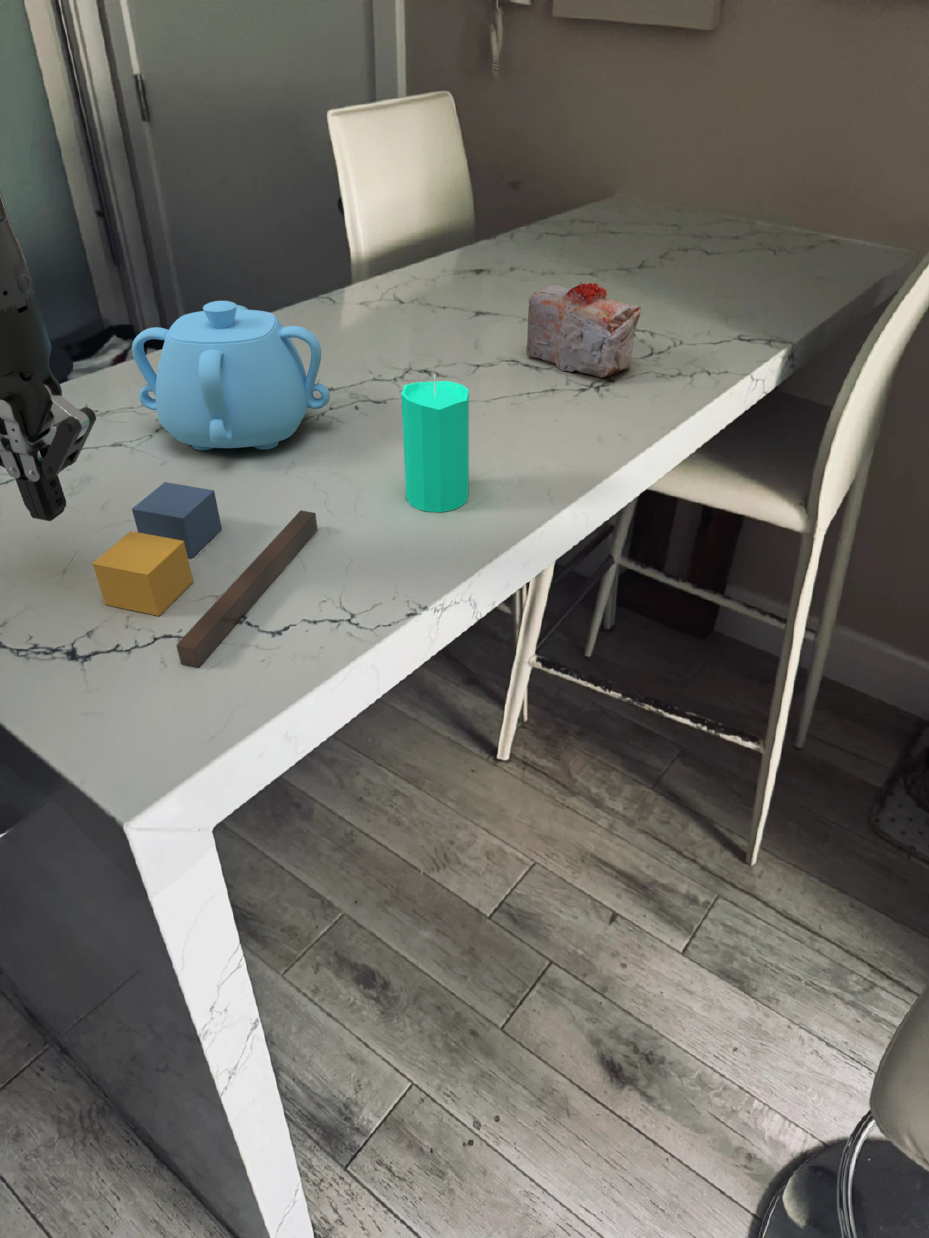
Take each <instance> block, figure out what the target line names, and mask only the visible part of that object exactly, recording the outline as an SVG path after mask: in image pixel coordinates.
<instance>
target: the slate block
mask: <svg viewBox="0 0 929 1238" xmlns="http://www.w3.org/2000/svg"><path fill="white" fill-rule="evenodd" d="M131 511H132V516H133V520H134V522H135V526H136V532H139V533H144V534H149V535H155V536H160V537H165V538H171V539H176V540H182V541H184V544H185V548H186V552H187V557H188V558H191V559H193V558H194V557H195V556H196V555H197V554H198V553H199V552H200V551H201V550H202V549H203V548H204V547H205V546H206V545H207V544H208V543H209V542H210V541H211V540H212V539H214V537H216V536H217V534H218V533H220V532H221V531H222V529H223V527H222V524H221V517H220V513H219V507H218V502H217V498H216V493H215V490H214V489H210V488H209V489H208V488H203V487H196V486H191V485H185V484H179V483H173V482H168V481H164V482H163V483H162V484H161V485H159V486H158V487H157V488H156V489H154V490H153V491H152V492H150V493H149V494H148V495H147V496H146V497H144V498H143V499H142V500H141V501H139V502H138V503H137V504H135V506H133V507H132V508H131Z"/></svg>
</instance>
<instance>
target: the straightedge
mask: <svg viewBox="0 0 929 1238" xmlns="http://www.w3.org/2000/svg"><path fill="white" fill-rule="evenodd" d="M317 531H318V522H317V513H316V512H313V511H307V510H303V509H302V510H299V511H298V512H297V513H296V514H295V516H294V517H293V518H292V519H291V520H290V521H289V522H288V523H287V524H286V525H285V526H284V528H283V529H281V531H280V532H279V533H278V534H277V535H276V536H275V537H274V538H273V539H272V541H271V542H270V543H269V544H268V545H267V546H265V548H264V549H263V550H262V551H261V552H260V553H259V554H258V556H257V557H256V558H255V559H254V560H253V561H252V562H251V563H250V564H249V565H248V567H246V568H245V570H243V572H242V573H241V574H240V575H239V576H238V578H236V579H235V580H234V582H233V583H232V584H231V585H230V586H229V587H228V588H227V589H226V590H225V592H224V593H222V595H221V596H220V597H219V598H217V600H216V601H215V602H214V603H213V604H212V606H211V607H210V608H209V609H208V610H207V611H206V612H205V613H204V614H203V616H201V618H200V619H198V621H197V622H196V623H195V624H194V625H193V626H192V627H191V628H190V629H189V630H188V632H187V633H186V634H185V635H184V636H183V637H182V638H181V639H180V640H179V641H178V642H177V643H176V651H177V654H178V657H179V662H180V664H181V665H183V666H189V667H193V668H197V669H198V668H201V666H202V665H203V663H204V662H205V661H206V660H207V659H208V658H209V657H210V655H211V654H212V653H213V652H214V651H215V649H217V647H218V646H219V645H220V644H221V643H222V641H223V640H224V639H225V638H226V637H227V635H229V633H230V632H231V631H232V630H233V628H234V627H235V626H236V625H237V624H238V623H239V622H240V621H241V619H242V618H243V617H244V616H245V614H247V612H248V611H249V610H250V609H251V608H252V607H253V606H254V604H256V602H258V600H259V598H260V597H261V596H262V595H263V594H264V593H265V591H266V590H268V588H269V587H270V586H271V584H272V583H273V582H274V581H275V580H276V579H277V578H278V576H279V575H280V574H281V573H282V572H283V571H284V569H285V568H286V567H287V566H288V565H289V564H290V562H291V561H292V560H293V559H294V558H295V557H296V555H297V554H299V552H300V551H301V550H302V549H303V547H304V546H305V545H306V544H307V543H308V541H310V540H311V538H312V537H313V536H314V535H315V534H316V532H317Z"/></svg>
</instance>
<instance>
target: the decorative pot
mask: <svg viewBox="0 0 929 1238" xmlns="http://www.w3.org/2000/svg"><path fill="white" fill-rule="evenodd" d="M293 339H298V340H301V341H303V342H304V343H306V344H307V345H308V347H309V349H310V362H309V363H310V364H309V367H308V370H307V373H306V368H305V366H304V362H303V360H302V358H301V357H302V356H301V355H300V353H299V351H298V348H297V347H296V345H295V343H294V341H293ZM150 340H159V341H164V342H163V346H162V349H161V354H160V356H159V357H160V358H159V361H158V366H157V370H156V372H155V370H154V368H153V367H152V365H151V363H150V361H149V360H148V357H147V355H146V352H145V347H144V344H145V343H146V342H147V341H150ZM131 353H132V357H133V360H134V363H135V365H136V367H137V368H138V370H139V372H140V374H141V375H142V377H143V379H144V380H145V382H146V383H145V384H144V385H143V386H142V387H141V388H140V389H139V392H138V399H139V401H140V404H141V405H142V406H143V407H145V408H146V409H148V410H151V411H156V413H157V418H158V421H159V422H160V424H161V426H162V427H163V428H164V429H165V430H166V431H167V433H169V434H170V435H171V436H172V437H173V438H174V439H176V441H178V442H180V443H183V444H185V445H190V446H192V449H193V450H197V451H209V450H213V449H239V448H249V447H254V448H255V449H257V450H270V449H274V448H276V447H277V446H278V445H279V442H281V441H284V440H286V439H288V438H290V437H291V436H292V435H293V434H294V433H295V432H296V431H297V430H298V428H299V426H300V424H301V423H302V421H303V419H304V417H305V416H306V413H307V410H308V408H309V409H312V410H319V409H322V408H324V407H326V406H327V405H328V404H329V402H330V398H331V393H330V391H329V388H328V387H327V386H326V385H325V384H323V383H316V381H317V377H318V374H319V370H320V366H321V361H322V347H321V343H320V341H319V339H318V338H317V336H316V335H315V334H314V333H313V332H312V331H310V330H309V329H307V328H305V327H301V326H299V325H288V326H284V325H283V324H282V323H281V321H280V320H279V319H278V317H277V315H274V314H273V313H271V312H269V311H264V310H257V309H248V308H247V307H246V306H243V305H240V304H237V303H235V302H233V301H229V300H215V301H211V302H210V301H209V302H208V303H206V304H204V305H203V306H202V310H201V311H200V310H199V311H195V312H190V313H186V314H183V315H181V316H180V317H178V318H177V319H176V320H175V321H174V322H173V323H172V324H171V326H170V327H169V329H167V328H163V327H158V326H157V327H156V326H154V327H149V328H146V329H144V330H142V331H141V332H139V334H137V335H136V337H135V338H134V339H133V342H132V345H131ZM149 392H152V394H153V395H154V397H155V398H153V397H152V396H150V395H149ZM314 392H319V394H320V396H321V397H318V398H317V397H315V396H314Z"/></svg>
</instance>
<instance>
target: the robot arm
mask: <svg viewBox="0 0 929 1238" xmlns="http://www.w3.org/2000/svg"><path fill="white" fill-rule="evenodd" d="M33 283H34V282H33V279H32V276H31V273H30V271H29V266H28V263H27V259H26V256H25V254H24V251H23V248H22V245H21V242H20V241H19V238H18V237H17V234H16V232H15V229H14V228H13V225H12V222H11V219H10V217H9V215H8V211H7V208H6V205H5V201H4V198H3V195H2V191H1V190H0V467H2V468H4V469H5V471H6V472H7V474H8V475H9V476H10V477H12V478H13V479H15V483H16V485H17V488H18V491H19V493H20V496H21V498H22V502H23V505H24V506H25V507H26V509H27V510H28V512H29V514H30V516H31V518H32V519H36V520H41V521H44V522H45V521H46V522H52V521H53V520H55V519H56V518H57V517H59V516H60V515H61V514H63V513H64V511H65V509H66V507H67V500H66V496H65V493H64V490H63V487H62V484H61V480H60V478H59V474H60V473H61V472H63V471H64V470H65V469H67V468H68V467H70V466H72V465H74V464H75V463H76V462H77V461H78V458H79V456H80V454H81V452H82V450H83V448H84V446H85V444H86V441H87V439H88V438H89V436H90V433H91V431H92V429H93V427H94V425H95V423H96V421H97V416H96V413H95V412H94V411H93V410H92V409H91V407H87V406H84V407H81V409H78V408H77V407H75V406H74V405H73V404H72V403H70V401H68V400H67V399H66V398H64V397H63V390H62V386H61V384H60V383H59V381H58V380H57V378H56V377H55V375H54V374H53V372H52V370H51V368H50V358H51V357H50V356H51V352H52V343H51V339H50V336H49V333H48V329H47V327H46V323H45V319H44V316H43V312H42V309H41V306H40V303H39V299H38V297H37V293H36V291H35V286H34V284H33Z"/></svg>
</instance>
